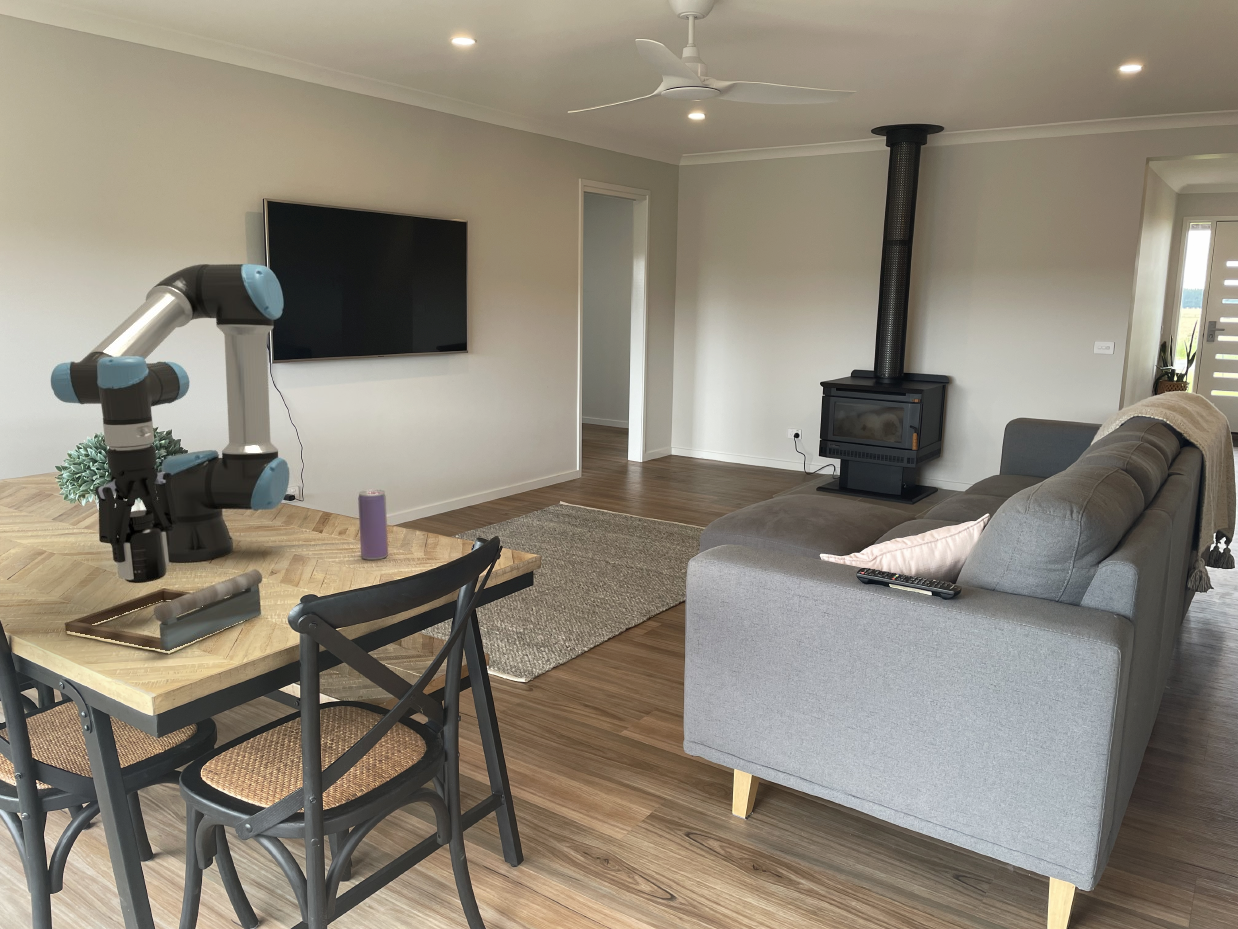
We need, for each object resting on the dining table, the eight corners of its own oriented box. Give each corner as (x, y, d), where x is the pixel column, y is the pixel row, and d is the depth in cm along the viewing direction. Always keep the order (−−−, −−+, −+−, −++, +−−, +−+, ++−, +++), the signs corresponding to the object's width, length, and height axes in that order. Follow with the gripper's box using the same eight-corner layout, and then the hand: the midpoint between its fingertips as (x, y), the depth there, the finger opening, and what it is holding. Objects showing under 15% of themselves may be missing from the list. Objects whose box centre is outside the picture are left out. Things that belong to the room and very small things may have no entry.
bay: (64, 634, 152) (59, 588, 150) (166, 597, 171) (162, 555, 170) (170, 655, 143) (165, 606, 142) (264, 614, 162) (261, 570, 161)
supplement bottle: (134, 571, 161) (127, 508, 159) (172, 571, 162) (166, 507, 159) (116, 584, 154) (108, 518, 152) (156, 583, 155) (150, 517, 153)
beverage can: (380, 561, 196) (377, 495, 193) (356, 559, 197) (352, 494, 194) (392, 554, 201) (390, 490, 199) (368, 552, 203) (365, 488, 200)
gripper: (94, 458, 143) (110, 592, 147) (192, 438, 161) (204, 558, 165) (62, 454, 145) (78, 586, 150) (162, 435, 163) (174, 554, 168)
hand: (144, 571), depth 158 cm, fingers closed on supplement bottle, 7 cm apart
